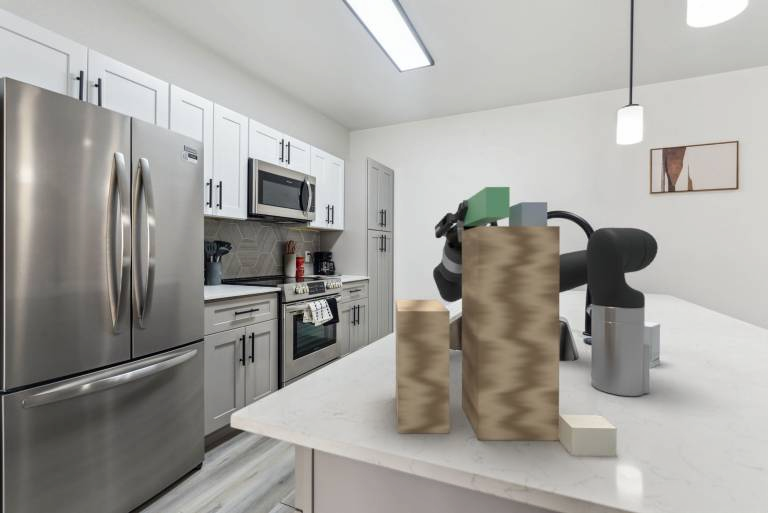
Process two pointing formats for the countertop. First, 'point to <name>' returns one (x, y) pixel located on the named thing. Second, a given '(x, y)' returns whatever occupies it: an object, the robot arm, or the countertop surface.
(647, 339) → the skincare box
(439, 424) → the oak ledge
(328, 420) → the countertop surface
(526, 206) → the slate-blue brick
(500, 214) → the green bar
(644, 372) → the robot arm
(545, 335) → the oak shelf block
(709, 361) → the countertop surface
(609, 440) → the cream brick
